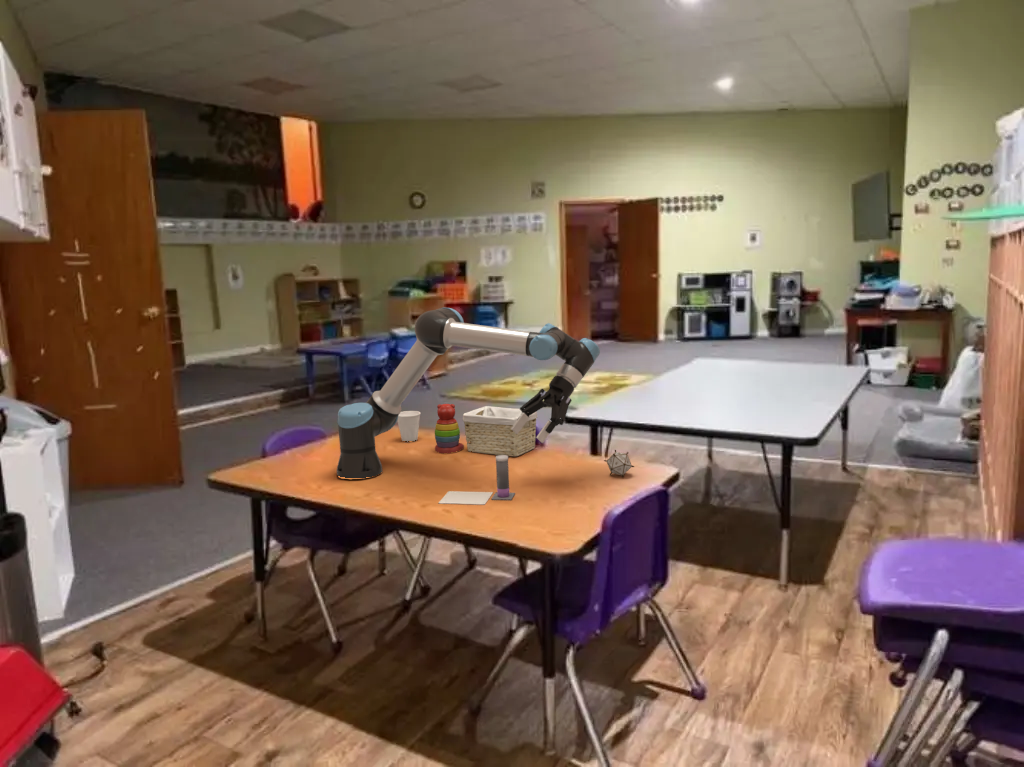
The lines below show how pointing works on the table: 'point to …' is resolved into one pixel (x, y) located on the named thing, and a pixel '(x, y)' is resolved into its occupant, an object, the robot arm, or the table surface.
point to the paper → (466, 498)
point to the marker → (502, 476)
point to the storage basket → (498, 431)
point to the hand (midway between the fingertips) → (526, 435)
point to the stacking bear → (447, 430)
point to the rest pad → (503, 497)
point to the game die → (619, 463)
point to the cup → (409, 425)
